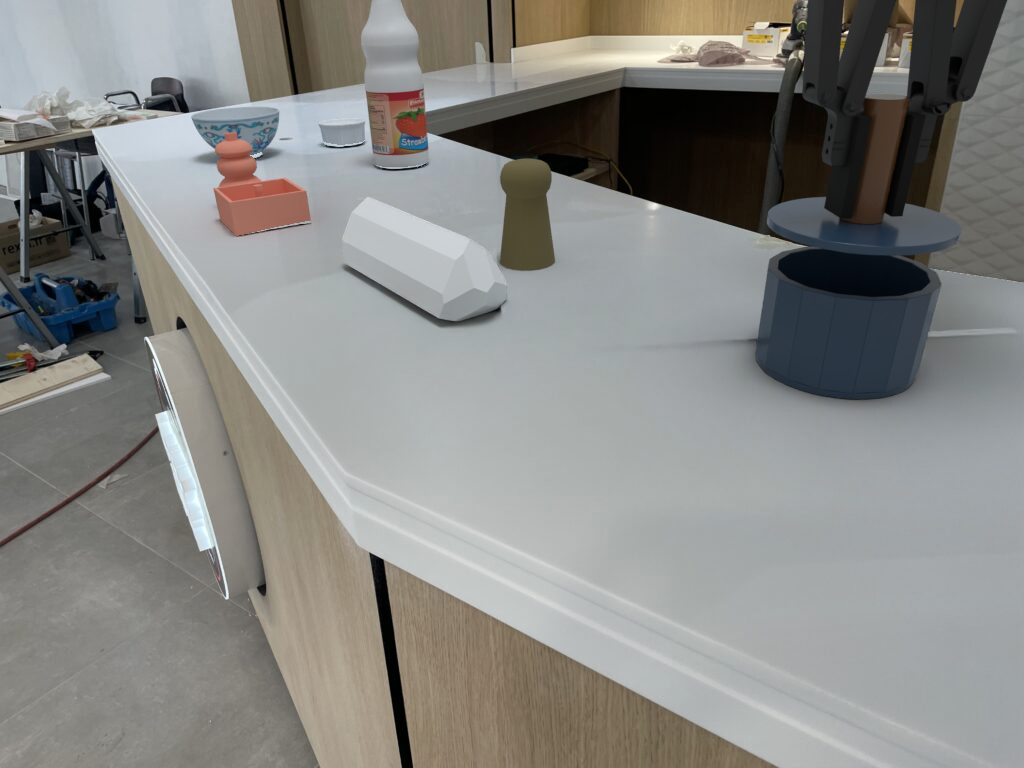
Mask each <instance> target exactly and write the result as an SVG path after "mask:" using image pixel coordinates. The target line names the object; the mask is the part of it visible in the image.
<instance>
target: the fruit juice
mask: <svg viewBox="0 0 1024 768" xmlns="http://www.w3.org/2000/svg"><path fill="white" fill-rule="evenodd" d="M370 2H371V3H370V9H369V13H368V14H369V15H368V19H367V21H366V23H365V25H364V27H363V28H362V31H361V35H360V44H361V49H362V52H363V55H364V58H365V62H366V65H365V68H364V90H365V96H366V106H367V115H368V125H369V133H370V140H371V149H372V158H373V163H374V165H375V164H376V165H378V166H382V167H408V166H416V165H421V164H424V163H426V162H428V163H429V162H430V161H429V160H430V152H429V140H428V139H429V138H428V127H427V126H428V125H427V113H426V101H425V100H426V99H425V87H424V77H423V71H422V68H421V66H420V64H419V61H418V55H419V50H420V40H419V39H420V38H419V33H418V32H417V29H416V27H415V26H414V25H413V24H412V22H411V21H410V19H409V18H408V16H407V13H406V10H405V8H404V5H403V2H402V0H371V1H370ZM376 165H375V166H376Z"/></svg>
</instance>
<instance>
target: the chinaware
mask: <svg viewBox="0 0 1024 768" xmlns="http://www.w3.org/2000/svg"><path fill="white" fill-rule="evenodd" d="M190 119H191V121H192V124H193V125H194V127H195V129H196V131H197V133H198V134H199V136H200V137H201V138H202V140H204V142H206V143H207V145H209V146H210V147H211V148H212V149H214V150H215V147H216V146H217V145H218V144H219V143H220V142H223V141H226V140H225V135H224V133H228V132H237V137H238V140H244V141H246V142H248V143H249V144H251V146H252V151H251V153H250V154H248V155H254V154H257V153H260V152H262V151H263V152H264V150H266V148H268V146H269V145H271V143H272V142H273V140H274V138H275V137H276V134H277V132H278V129H279V125H280V124H279V123H280V109H279V108H277V107H271V106H235V107H226V108H225V107H224V108H216V109H210V110H209V109H208V110H204V111H200V112H196V113H193V114H191V116H190Z"/></svg>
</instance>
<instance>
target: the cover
mask: <svg viewBox="0 0 1024 768" xmlns="http://www.w3.org/2000/svg"><path fill="white" fill-rule="evenodd" d="M909 101H910V97H907V95H901V94H893V93H892V94H889V93H874V94H871V93H870V94H866V96H865V99H864V102H863V105H862V108H861V110H860V112H859V113H860V114H863V115H866V116H869V117H872V120H871V125H870V130H869V135H868V140H867V145H866V150H865V155H864V160H863V165H862V170H861V175H860V180H859V185H858V190H857V195H856V199H855V204H854V209H853V214H852V218H844V219H841V218H839V217H837V216H836V215H834V214H833V213H831V212H830V211H828V210H826V209H825V208H824V206H825V200H826V196H817V197H816V196H815V197H806V198H805V197H804V198H798V199H791V200H788V201H784V202H781V203H778V204H776V205H774V206H772V207H770V209H769V210H768V212H767V215H766V225H767V226H768V228H769V229H771V231H772V232H774V233H775V234H777V235H779V236H781V237H783V238H785V239H788V240H790V241H792V242H796V243H799V244H803V245H806V246H808V247H817V248H822V249H827V250H831V251H836V252H842V253H849V254H859V255H878V256H880V255H888V256H897V255H900V256H917V255H925V254H932V253H937V252H941V251H945V250H947V249H951V248H952V247H954V246H955V245H957V244H958V243H959V242H960V240H961V237H962V232H963V229H962V225H961V224H960V223H959V222H958V221H956V220H955V219H954V218H952V217H950V216H948V215H946V214H944V213H941V212H939V211H936V210H934V209H930V208H927V207H922V206H920V205H919V206H918V205H915V204H911V203H907V202H906V203H905V207H904V212H903V216H898V217H891V216H889V215H887V214H886V213H885V209H886V205H887V200H888V196H889V191H890V187H891V182H892V178H893V173H894V169H895V164H896V160H897V155H898V151H899V146H900V142H901V137H902V133H903V128H904V124H905V119H906V115H907V110H909Z"/></svg>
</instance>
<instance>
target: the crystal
mask: <svg viewBox="0 0 1024 768" xmlns="http://www.w3.org/2000/svg"><path fill="white" fill-rule="evenodd" d="M341 249H342V256H343V257H342V258H343V259H342V260H343V263H344V264H345V265H347V266H348V267H350V268H352V269H354V270H356V271H357V272H359V273H361V274H362V275H364V276H366V277H367V278H369V279H371V280H373V281H374V282H376V283H377V284H379V285H381V286H383V287H384V288H386V289H388V290H389V291H391V292H393V293H394V294H396V295H398V296H400V297H402V298H403V299H405V300H407V301H408V302H410V303H412V304H413V305H415V306H417V307H419V309H422V310H423V311H425V312H427V313H429V314H430V315H432V316H434V317H436V318H437V319H440V320H445V321H453V322H462V321H465V320H468V319H472V318H475V317H478V316H481V315H484V314H488V313H491V312H493V311H496V310H497V309H499V308H500V307H501V306H502V304H504V302H505V301H506V300H507V299H508V287H509V285H508V283H507V281H506V278H505V276H504V275H503V273H502V271H501V270H500V268H499V266H498V264H497V262H496V261H495V259H494V258H493V256H492V255H491V253H490V252H489V250H487V249H486V248H485V247H483V246H482V245H481V244H479V243H478V242H476V241H475V240H473V239H472V238H470V237H467V236H464V235H463V234H460V233H458V232H455V231H453V230H450V229H447V228H445V227H444V226H440V225H438V224H435V223H434V222H430V221H428V220H425V219H423V218H421V217H418V216H417V215H414V214H412V213H408V212H406V211H404V210H401V209H399V208H398V207H397V208H396V207H395V206H392V205H390V204H387V203H385V202H382V201H380V200H377V199H375V198H372V197H371V196H367V197H365V198H364V200H363V201H361V203H360V204H358V205H357V206H356V207H355V208H354V209H353V210H352V211H351V213H350V216H349V218H348V221H347V225H346V227H345V229H344V232H343V235H342V238H341Z"/></svg>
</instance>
